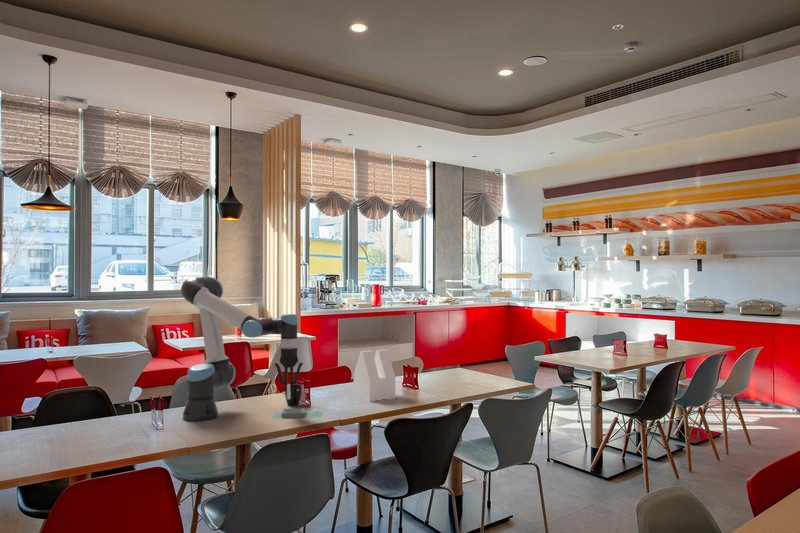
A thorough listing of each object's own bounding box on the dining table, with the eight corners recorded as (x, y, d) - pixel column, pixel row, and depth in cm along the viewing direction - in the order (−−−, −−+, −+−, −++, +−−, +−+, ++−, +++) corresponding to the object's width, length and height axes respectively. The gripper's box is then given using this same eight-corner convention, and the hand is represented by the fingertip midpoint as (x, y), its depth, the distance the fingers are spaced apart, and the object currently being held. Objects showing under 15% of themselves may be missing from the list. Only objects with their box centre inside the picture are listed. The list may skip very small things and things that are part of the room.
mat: (272, 419, 248) (272, 418, 248) (274, 413, 258) (274, 412, 258) (321, 417, 251) (321, 417, 251) (322, 412, 260) (322, 411, 260)
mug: (290, 409, 266) (290, 389, 267) (282, 404, 277) (282, 385, 277) (306, 407, 271) (306, 388, 271) (298, 402, 281) (298, 384, 281)
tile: (281, 413, 249) (303, 412, 250) (283, 408, 258) (305, 408, 259) (281, 417, 249) (303, 417, 250) (283, 412, 258) (305, 412, 259)
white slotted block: (353, 395, 301) (353, 349, 301) (378, 392, 309) (378, 347, 309) (369, 401, 284) (369, 353, 285) (395, 398, 292) (395, 351, 293)
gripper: (273, 348, 250) (273, 400, 249) (302, 348, 251) (302, 400, 251) (275, 346, 257) (275, 397, 257) (303, 346, 259) (303, 396, 258)
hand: (288, 398), depth 254 cm, fingers closed
